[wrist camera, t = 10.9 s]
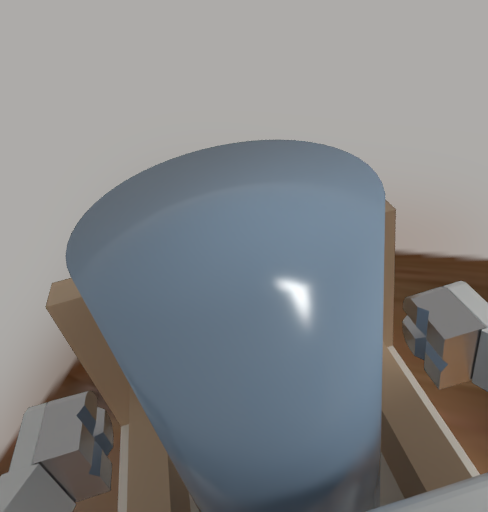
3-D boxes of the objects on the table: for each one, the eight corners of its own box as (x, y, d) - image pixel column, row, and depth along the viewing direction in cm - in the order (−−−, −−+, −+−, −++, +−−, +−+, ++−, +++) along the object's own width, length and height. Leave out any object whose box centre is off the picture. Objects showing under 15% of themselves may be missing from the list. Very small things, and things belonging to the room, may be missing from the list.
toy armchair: (379, 350, 24) (378, 193, 18) (669, 809, 11) (1001, 773, 5) (135, 423, 23) (52, 283, 17) (129, 1012, 10) (-220, 1250, 4)
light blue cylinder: (343, 451, 18) (316, 120, 9) (408, 605, 13) (462, 247, 5) (221, 489, 17) (83, 179, 9) (248, 658, 13) (36, 365, 5)
